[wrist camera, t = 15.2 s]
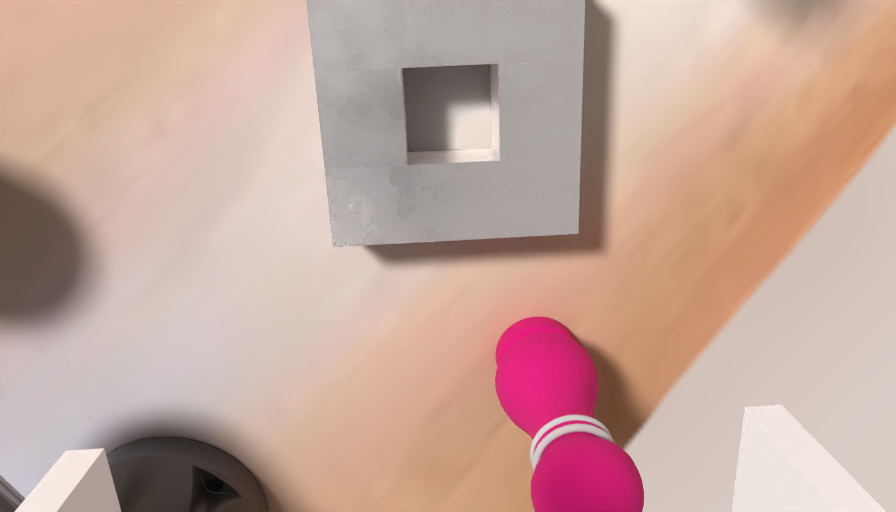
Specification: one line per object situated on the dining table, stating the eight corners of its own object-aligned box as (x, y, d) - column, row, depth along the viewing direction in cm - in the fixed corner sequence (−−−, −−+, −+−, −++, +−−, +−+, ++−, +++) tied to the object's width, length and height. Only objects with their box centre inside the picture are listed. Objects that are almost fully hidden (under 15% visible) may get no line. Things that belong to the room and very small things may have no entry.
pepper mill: (582, 307, 48) (689, 484, 29) (579, 390, 51) (675, 602, 32) (488, 312, 48) (534, 493, 29) (489, 394, 50) (532, 611, 31)
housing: (341, 226, 45) (333, 247, 41) (316, -17, 40) (304, -23, 35) (563, 215, 46) (578, 233, 41) (568, -27, 40) (586, -34, 36)
